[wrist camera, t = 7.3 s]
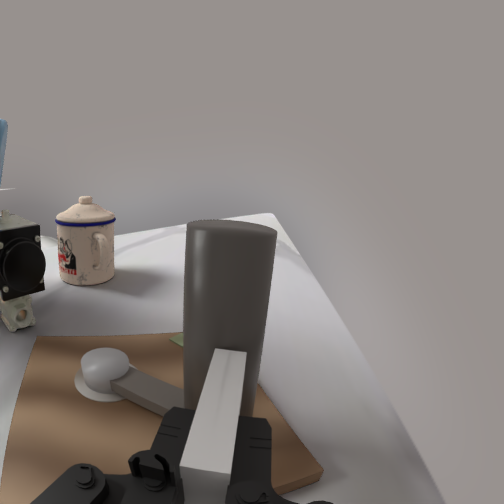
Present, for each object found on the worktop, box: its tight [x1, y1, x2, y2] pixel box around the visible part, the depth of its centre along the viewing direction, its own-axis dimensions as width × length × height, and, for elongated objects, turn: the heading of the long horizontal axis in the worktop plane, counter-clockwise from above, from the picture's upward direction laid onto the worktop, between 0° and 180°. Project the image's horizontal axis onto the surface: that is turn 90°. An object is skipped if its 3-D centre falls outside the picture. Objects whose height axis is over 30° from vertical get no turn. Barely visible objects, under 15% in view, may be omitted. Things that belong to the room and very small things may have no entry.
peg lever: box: [81, 220, 277, 417], centre depth 17 cm, size 13×4×12 cm, turn 70°
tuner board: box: [0, 332, 324, 504], centre depth 19 cm, size 18×18×1 cm
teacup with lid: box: [55, 196, 116, 285], centre depth 39 cm, size 12×9×12 cm
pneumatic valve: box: [0, 210, 46, 332], centre depth 24 cm, size 6×12×12 cm, turn 60°
